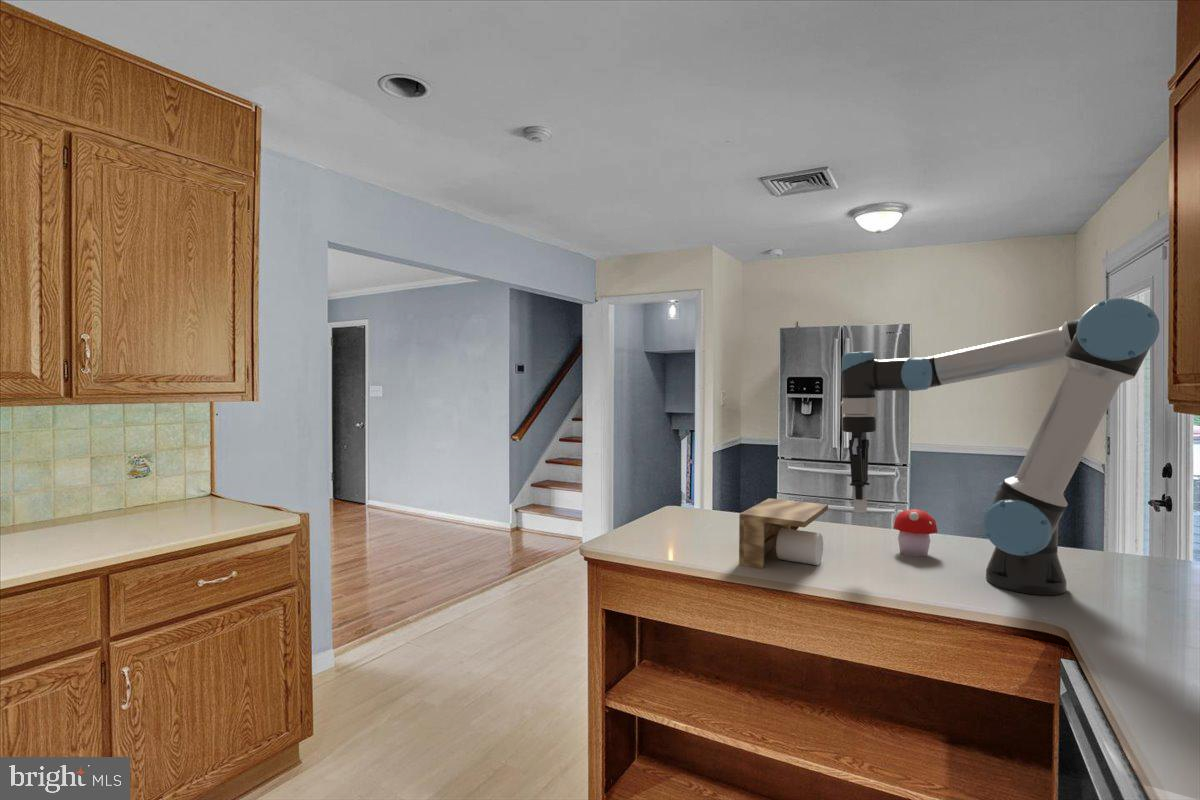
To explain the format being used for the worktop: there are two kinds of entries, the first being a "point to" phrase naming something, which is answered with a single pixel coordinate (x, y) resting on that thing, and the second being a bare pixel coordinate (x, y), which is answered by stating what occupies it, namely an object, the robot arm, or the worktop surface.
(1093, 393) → the robot arm
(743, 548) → the small wooden shelf
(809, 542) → the mug
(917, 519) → the mushroom
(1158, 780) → the worktop surface
